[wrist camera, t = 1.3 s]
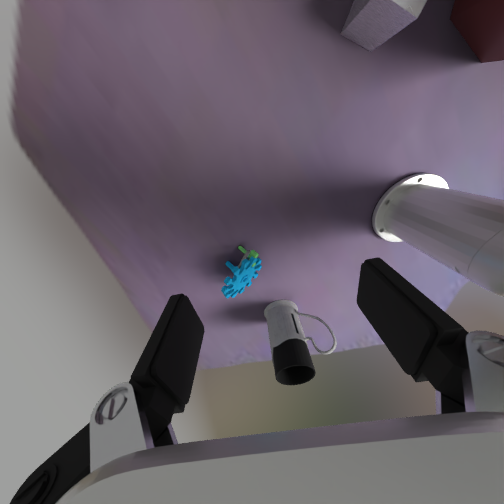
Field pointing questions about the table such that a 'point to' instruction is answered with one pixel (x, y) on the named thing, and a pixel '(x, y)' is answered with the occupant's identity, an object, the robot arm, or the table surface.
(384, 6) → the white slotted box
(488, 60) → the bucket
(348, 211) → the table surface
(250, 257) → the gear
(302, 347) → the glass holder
